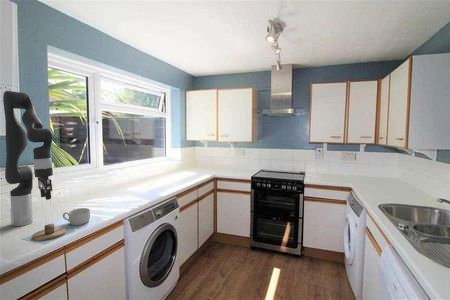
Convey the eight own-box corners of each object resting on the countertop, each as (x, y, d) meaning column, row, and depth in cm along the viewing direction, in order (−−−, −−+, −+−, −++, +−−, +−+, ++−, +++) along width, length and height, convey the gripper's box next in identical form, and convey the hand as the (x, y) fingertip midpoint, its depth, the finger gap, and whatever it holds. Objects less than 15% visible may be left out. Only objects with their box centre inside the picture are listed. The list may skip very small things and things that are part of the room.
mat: (21, 240, 115) (21, 239, 115) (54, 228, 130) (54, 226, 130) (44, 246, 110) (44, 244, 110) (75, 232, 125) (75, 230, 125)
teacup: (94, 220, 143) (93, 207, 142) (83, 228, 132) (83, 214, 131) (70, 220, 142) (70, 207, 142) (58, 228, 131) (58, 214, 131)
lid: (25, 238, 116) (24, 228, 115) (53, 227, 129) (53, 218, 129) (45, 243, 112) (44, 232, 111) (72, 231, 125) (72, 222, 124)
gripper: (30, 167, 123) (33, 197, 124) (38, 169, 114) (41, 202, 115) (47, 165, 129) (50, 194, 130) (56, 167, 120) (59, 198, 121)
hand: (46, 198), depth 123 cm, fingers open, 8 cm apart
